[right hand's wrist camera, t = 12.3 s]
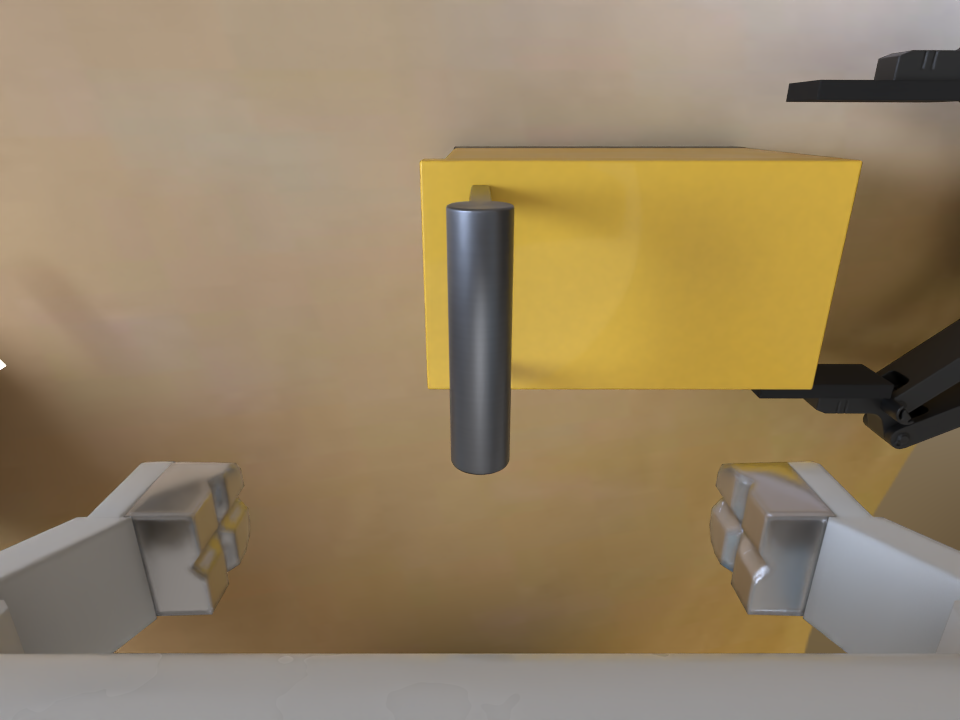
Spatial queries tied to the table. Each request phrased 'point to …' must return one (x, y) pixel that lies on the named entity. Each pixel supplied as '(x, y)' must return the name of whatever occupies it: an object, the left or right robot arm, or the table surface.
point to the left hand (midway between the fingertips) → (772, 248)
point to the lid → (623, 279)
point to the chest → (622, 153)
